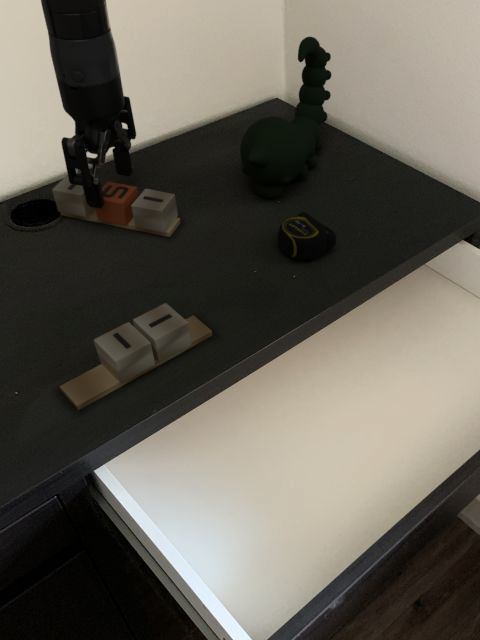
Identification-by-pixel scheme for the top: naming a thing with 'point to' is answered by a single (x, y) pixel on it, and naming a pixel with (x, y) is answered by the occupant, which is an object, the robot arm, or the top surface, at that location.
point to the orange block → (117, 203)
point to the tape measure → (305, 237)
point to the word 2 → (135, 352)
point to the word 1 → (148, 209)
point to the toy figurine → (289, 130)
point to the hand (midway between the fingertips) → (111, 190)
